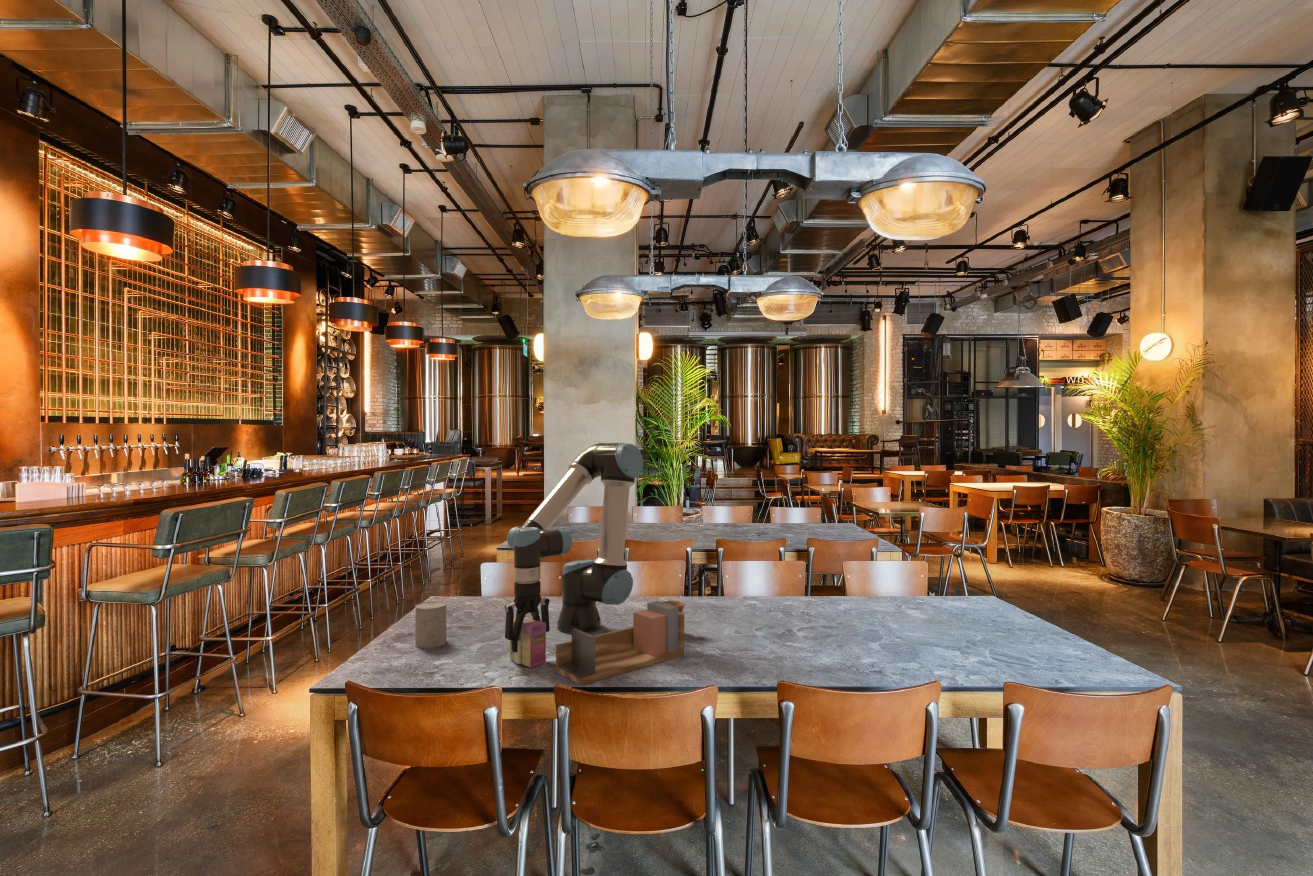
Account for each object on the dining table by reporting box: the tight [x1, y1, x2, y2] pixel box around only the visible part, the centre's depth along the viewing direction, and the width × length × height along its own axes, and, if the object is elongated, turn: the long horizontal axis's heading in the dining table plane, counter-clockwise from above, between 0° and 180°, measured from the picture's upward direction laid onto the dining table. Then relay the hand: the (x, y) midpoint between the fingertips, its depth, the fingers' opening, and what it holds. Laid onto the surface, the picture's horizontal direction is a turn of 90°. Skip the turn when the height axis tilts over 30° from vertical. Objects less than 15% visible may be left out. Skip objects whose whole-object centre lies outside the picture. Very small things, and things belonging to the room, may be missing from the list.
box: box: [509, 615, 547, 668], centre depth 183 cm, size 10×6×12 cm, turn 47°
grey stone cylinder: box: [414, 600, 448, 649], centre depth 200 cm, size 10×10×12 cm
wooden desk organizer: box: [555, 612, 685, 686], centre depth 182 cm, size 13×37×12 cm, turn 130°
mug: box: [662, 600, 686, 613], centre depth 208 cm, size 12×9×10 cm
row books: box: [632, 600, 679, 656], centre depth 189 cm, size 10×10×13 cm
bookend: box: [559, 628, 595, 678], centre depth 171 cm, size 10×5×10 cm, turn 40°
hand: (527, 659), depth 183 cm, fingers closed on box, 6 cm apart
